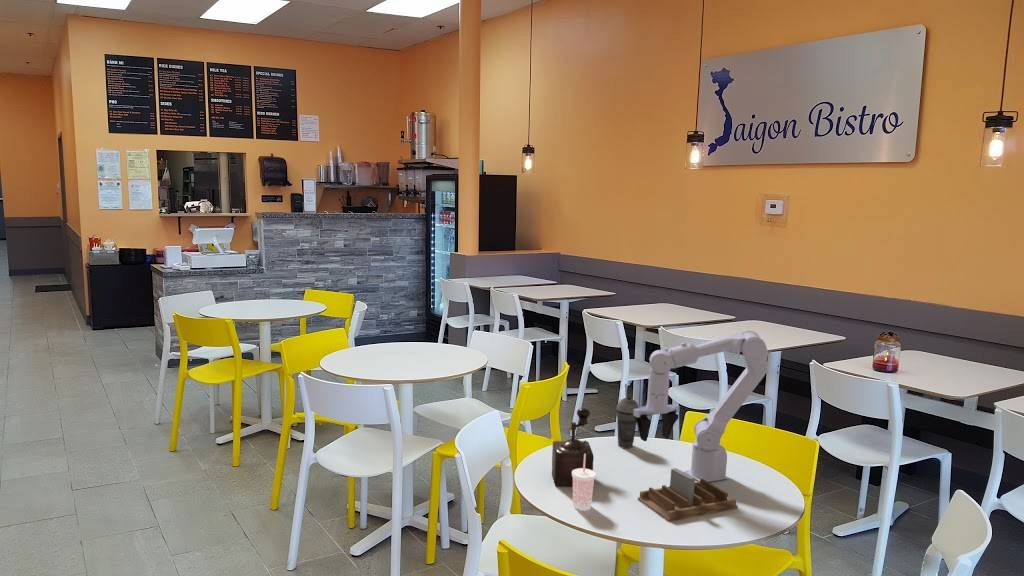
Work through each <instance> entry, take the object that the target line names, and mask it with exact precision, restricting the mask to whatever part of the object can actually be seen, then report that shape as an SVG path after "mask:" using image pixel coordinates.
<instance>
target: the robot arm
mask: <svg viewBox="0 0 1024 576" xmlns="http://www.w3.org/2000/svg"><path fill="white" fill-rule="evenodd" d="M760 337H761V336H759V334H758V333H757V332H755V331H753V330H746V331H743V332H734V333H732V334H729V335H726V336H722V337H719V338H716V339H713V340H711V341H706V342H704V343H700V344H698V345H694V344H692V343H691V342H688V343H686V341H684V342H683V341H682V342H681V343H680V345H678V346H673V347H669V348H668V346H667V347H664V349H663V350H662V349H657V350H655V351H653V352H652V353H651V354H650V356H649V358H648V360H649V365H650V369H649V376H648V382H647V383H648V385H647V386H648V387H647V399H646V405H643V406H641V407H639V408H637V409H634V413H633V415H634V418H635V420H636V422H637V423H636V426H637V427H638V432H639V438H640V440H642V441H643V442H647V441H648V436H649V435H648V434H649V428H650V425H651V422H652V419H650V418H649V417H648V416H653V415H654V416H655V415H661V421H662V429H661V430H662V431H661V434H662V437H664V438H666V439H670V435H671V432H672V429H673V427H674V425H675V424H676V422H677V421H678V420H679V414H678V413H680V408H681V407H680V405H679V404H678V405H677V404H676V403H675V404H668V403H669V401H668V400H669V389H670V371H671V370H672V369H677V368H680V367H684V366H688V365H692V364H695V363H697V361H698V360H699V359H700V358H701V357H706V356H712V355H715V354H719V353H723V352H730V353H733V354H736V355H740V354H742V356H743V361H744V364H745V369H744V370H743V371H742V373H741V374H740V375H739V376H738V378H737V379H736V380H735V382H734V383H733V384H732V386H731V387H730V388H729V390H728V391H727V392H726V393H725V394H724V396H723V397H722V398H721V399H720V401H719V402H718V404H717V405H716V406H715V408H714V409H713V410H712V411H711V412H709V413H707V414H706V415H705V417H704V418H702V419H700V420H698V421H697V422H696V423H695V425H694V428H693V431H694V434H695V437H696V439H695V440H694V441H693V443H692V452H691V465H690V469H688V470H684V471H683V472H685V473H687V474H689V475H690V476H692V477H694V478H695V481H696V482H700V479H704V480H706V481H707V482H709V483H710V482H715V481H717V482H718V481H722V480H727V479H728V476H726V475H727V464H728V453H727V450H726V448H725V447H724V446H723V445H722V444H720V443H721V439H722V437H723V435H724V434H725V431H726V429H727V425H728V423H730V421H731V420H732V418H733V417H734V415H735V414H736V413H737V412H738V410H739V409H740V408H741V407H742V405H743V404H744V402H746V400H747V399H748V397H750V395H751V394H752V393H753V391H754V390H755V388H756V387H758V385H759V383H761V381H762V380H763V378H764V377H765V375H766V373H767V363H768V356H769V351H768V347H767V345H766V343H765V340H763V339H762V338H760Z"/></svg>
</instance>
